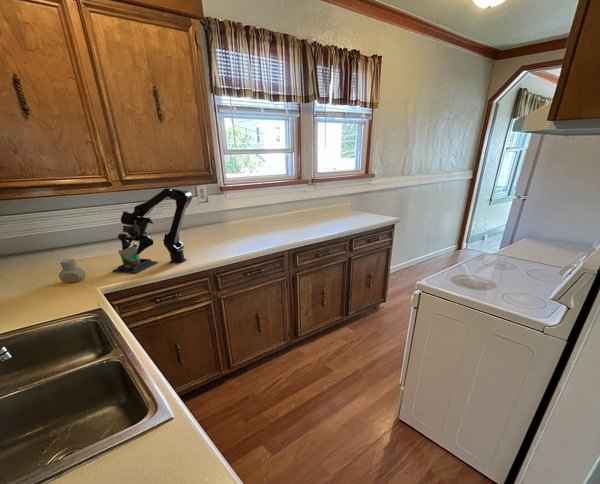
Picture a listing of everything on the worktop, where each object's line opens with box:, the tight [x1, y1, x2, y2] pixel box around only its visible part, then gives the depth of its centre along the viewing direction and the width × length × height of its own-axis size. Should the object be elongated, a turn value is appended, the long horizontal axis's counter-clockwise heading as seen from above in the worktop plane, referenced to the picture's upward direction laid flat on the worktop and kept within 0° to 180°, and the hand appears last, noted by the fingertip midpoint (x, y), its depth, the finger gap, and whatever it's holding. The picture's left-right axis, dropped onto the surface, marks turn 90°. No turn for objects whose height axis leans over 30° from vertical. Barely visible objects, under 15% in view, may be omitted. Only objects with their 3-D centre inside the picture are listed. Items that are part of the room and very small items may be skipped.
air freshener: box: [58, 258, 87, 284], centre depth 155 cm, size 11×8×10 cm
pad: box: [112, 258, 158, 275], centre depth 174 cm, size 14×18×2 cm
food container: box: [118, 244, 141, 268], centre depth 172 cm, size 12×6×10 cm, turn 168°
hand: (130, 253), depth 170 cm, fingers open, 9 cm apart
